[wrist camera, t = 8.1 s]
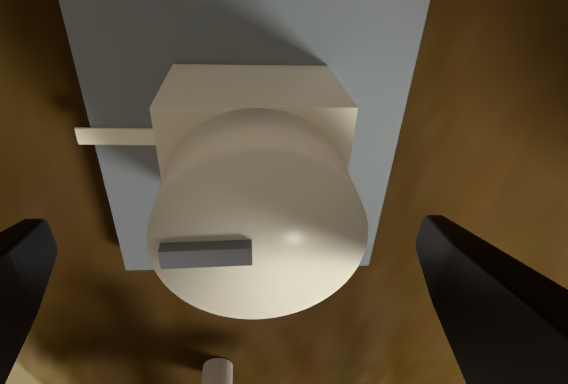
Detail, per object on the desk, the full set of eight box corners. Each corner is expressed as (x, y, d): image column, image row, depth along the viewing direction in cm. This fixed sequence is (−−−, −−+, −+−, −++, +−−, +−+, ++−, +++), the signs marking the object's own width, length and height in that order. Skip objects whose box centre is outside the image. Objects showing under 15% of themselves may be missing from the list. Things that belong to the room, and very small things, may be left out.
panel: (429, -71, 12) (520, -78, 8) (362, 248, 19) (392, 328, 15) (35, -96, 11) (-89, -118, 7) (121, 252, 18) (85, 339, 14)
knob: (328, 65, 13) (391, 154, 7) (315, 192, 15) (355, 322, 10) (172, 63, 12) (121, 158, 7) (189, 195, 15) (161, 334, 10)
